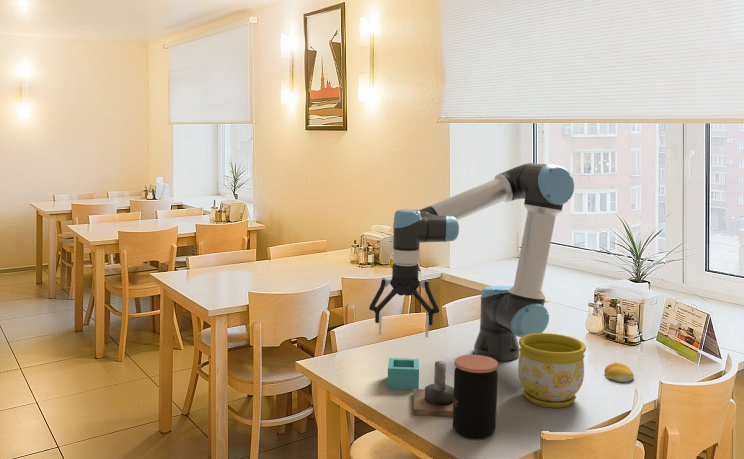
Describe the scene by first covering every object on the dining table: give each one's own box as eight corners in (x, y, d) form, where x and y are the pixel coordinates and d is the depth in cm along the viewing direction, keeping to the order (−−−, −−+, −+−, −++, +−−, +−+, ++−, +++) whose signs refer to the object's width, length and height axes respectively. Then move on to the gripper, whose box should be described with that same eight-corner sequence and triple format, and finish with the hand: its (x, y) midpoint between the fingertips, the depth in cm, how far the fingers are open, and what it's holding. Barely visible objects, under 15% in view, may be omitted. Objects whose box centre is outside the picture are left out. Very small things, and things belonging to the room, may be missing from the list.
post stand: (463, 395, 187) (464, 354, 185) (467, 416, 173) (468, 373, 171) (413, 393, 188) (414, 353, 186) (413, 414, 174) (414, 371, 172)
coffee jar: (464, 417, 172) (466, 351, 170) (502, 428, 166) (505, 360, 164) (444, 432, 164) (446, 363, 161) (484, 444, 158) (487, 372, 155)
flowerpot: (539, 381, 198) (541, 328, 196) (594, 399, 185) (598, 343, 183) (503, 397, 186) (505, 341, 183) (560, 418, 173) (563, 358, 170)
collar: (418, 377, 200) (418, 358, 199) (418, 389, 191) (419, 369, 190) (388, 376, 200) (388, 357, 199) (387, 388, 191) (387, 368, 191)
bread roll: (607, 382, 199) (608, 369, 198) (602, 371, 208) (603, 359, 207) (636, 384, 197) (637, 371, 197) (630, 373, 206) (631, 361, 206)
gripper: (448, 262, 193) (445, 332, 196) (363, 259, 195) (361, 329, 198) (449, 267, 186) (446, 340, 189) (361, 264, 187) (359, 336, 190)
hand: (403, 334), depth 193 cm, fingers open, 13 cm apart
